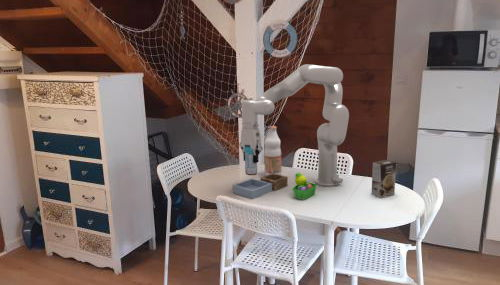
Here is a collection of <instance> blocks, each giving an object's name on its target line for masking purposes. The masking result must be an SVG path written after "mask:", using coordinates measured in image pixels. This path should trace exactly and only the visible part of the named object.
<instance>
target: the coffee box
mask: <svg viewBox="0 0 500 285" xmlns="http://www.w3.org/2000/svg"><path fill="white" fill-rule="evenodd" d="M396 170H397V162H396V161H393V160H389V159H383V160H378V161H374V162H372V170H371V171H372V175H371V195H373V196H375V197H378V198H380V199H383V198H386V197H390V196H395V190H396V174H397V173H396V172H397V171H396Z"/></svg>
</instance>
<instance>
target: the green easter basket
mask: <svg viewBox="0 0 500 285" xmlns="http://www.w3.org/2000/svg"><path fill="white" fill-rule="evenodd" d="M294 180H295V186H293V187H292V188H291V189H292V190H293V193H294V194H293V195H294V197H295V198H296V199H300V200H303V201H304V200H306V199H308V198H310V197H312V196H315V192H316V190H317V187H318V184H316V183H314V182H310V181H308V179H307V176H305V175H304V174H303V173H301V172H297V173H296V174H295V179H294Z"/></svg>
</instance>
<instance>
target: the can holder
mask: <svg viewBox="0 0 500 285" xmlns="http://www.w3.org/2000/svg"><path fill="white" fill-rule="evenodd" d="M288 178H289V177H288V176H286V175H282V174H281V175H278V174H274V173H272V174H269V175H267V176H266V175H264V176H261V177H260V178H259V179H260V181H264V182H268V183H271V184H272V192H277V191H278V190H279V191H280V190H281V189H284V188H286V187H289V183H288V182H289V181H288Z"/></svg>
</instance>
